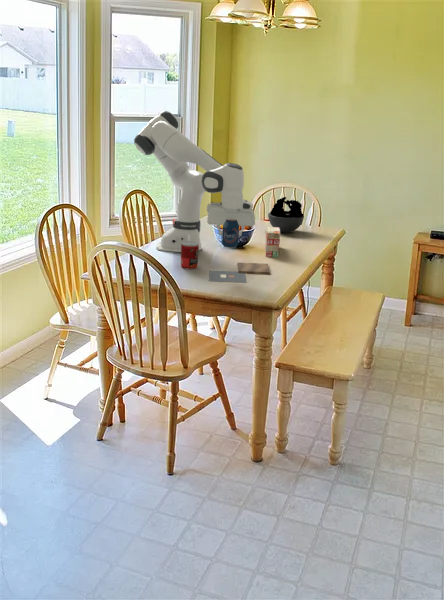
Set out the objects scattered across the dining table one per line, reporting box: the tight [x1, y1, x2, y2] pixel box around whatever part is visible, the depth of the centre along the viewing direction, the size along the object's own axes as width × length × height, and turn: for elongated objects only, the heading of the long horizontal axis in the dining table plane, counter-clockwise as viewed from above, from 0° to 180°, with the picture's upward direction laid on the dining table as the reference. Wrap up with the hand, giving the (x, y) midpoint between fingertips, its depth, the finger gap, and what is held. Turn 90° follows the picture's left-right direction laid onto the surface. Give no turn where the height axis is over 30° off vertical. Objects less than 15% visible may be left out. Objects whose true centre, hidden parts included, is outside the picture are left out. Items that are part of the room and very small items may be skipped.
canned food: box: [180, 241, 200, 270], centre depth 305 cm, size 8×8×11 cm
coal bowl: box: [267, 196, 305, 234], centre depth 380 cm, size 20×20×19 cm
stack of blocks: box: [265, 226, 281, 258], centre depth 338 cm, size 21×6×12 cm, turn 178°
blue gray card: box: [208, 269, 247, 284], centre depth 295 cm, size 16×16×1 cm
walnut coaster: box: [236, 261, 271, 275], centre depth 308 cm, size 14×14×1 cm
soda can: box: [221, 220, 240, 249], centre depth 289 cm, size 7×7×12 cm
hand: (230, 235), depth 290 cm, fingers closed on soda can, 7 cm apart
